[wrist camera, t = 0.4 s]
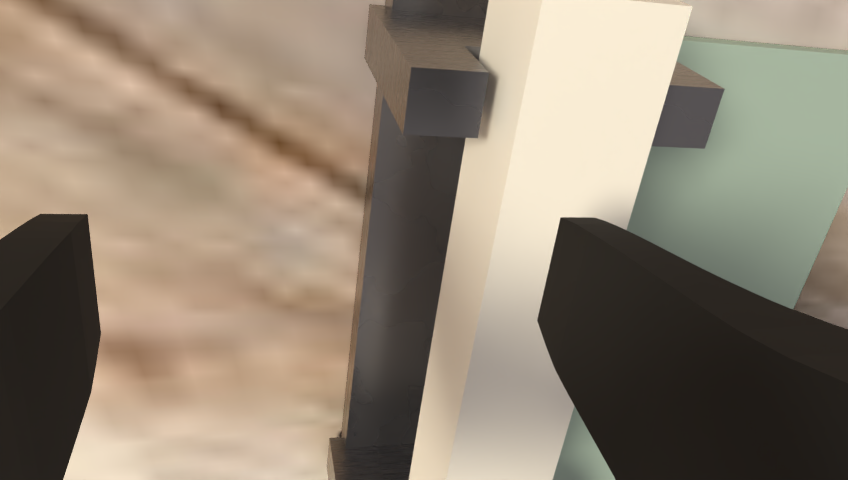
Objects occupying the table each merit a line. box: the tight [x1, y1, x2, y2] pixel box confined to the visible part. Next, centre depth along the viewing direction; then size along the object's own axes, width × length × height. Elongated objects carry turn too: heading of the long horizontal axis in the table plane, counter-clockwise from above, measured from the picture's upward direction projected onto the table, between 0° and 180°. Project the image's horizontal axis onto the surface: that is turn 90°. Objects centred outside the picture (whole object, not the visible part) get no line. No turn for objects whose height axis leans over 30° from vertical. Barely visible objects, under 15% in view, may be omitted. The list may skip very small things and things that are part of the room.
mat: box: [553, 36, 848, 480], centre depth 27 cm, size 20×9×1 cm, turn 172°
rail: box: [409, 0, 692, 480], centre depth 19 cm, size 20×3×3 cm, turn 172°
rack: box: [327, 0, 725, 480], centre depth 22 cm, size 18×7×6 cm, turn 172°
